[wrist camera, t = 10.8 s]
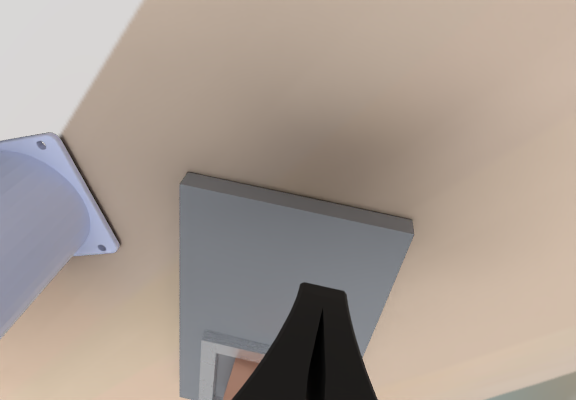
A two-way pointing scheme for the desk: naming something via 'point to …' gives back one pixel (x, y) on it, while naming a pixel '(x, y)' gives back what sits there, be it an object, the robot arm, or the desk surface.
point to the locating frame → (225, 346)
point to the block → (238, 376)
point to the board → (274, 264)
